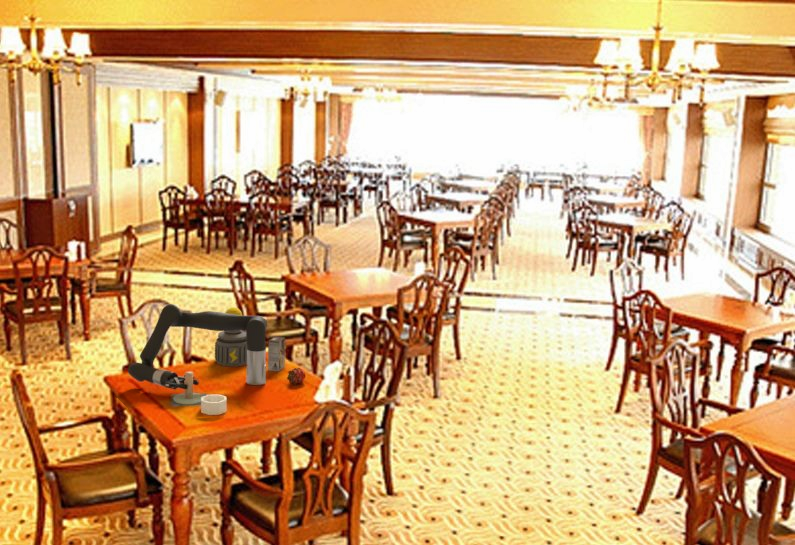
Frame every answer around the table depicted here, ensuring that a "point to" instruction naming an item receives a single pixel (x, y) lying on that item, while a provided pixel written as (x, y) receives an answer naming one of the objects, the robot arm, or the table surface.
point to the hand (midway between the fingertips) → (192, 385)
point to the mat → (181, 404)
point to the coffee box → (276, 353)
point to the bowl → (213, 404)
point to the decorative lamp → (231, 345)
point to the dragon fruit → (296, 376)
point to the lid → (188, 393)
